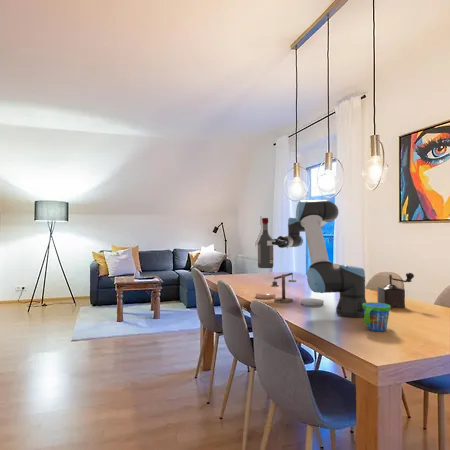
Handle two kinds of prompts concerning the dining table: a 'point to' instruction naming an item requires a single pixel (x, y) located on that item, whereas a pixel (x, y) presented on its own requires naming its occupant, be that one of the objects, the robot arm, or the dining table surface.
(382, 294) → the manual coffee grinder
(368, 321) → the snack cup
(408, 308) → the dining table surface
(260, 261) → the liquor
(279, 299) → the balance
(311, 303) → the grey dish
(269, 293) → the terracotta dish
